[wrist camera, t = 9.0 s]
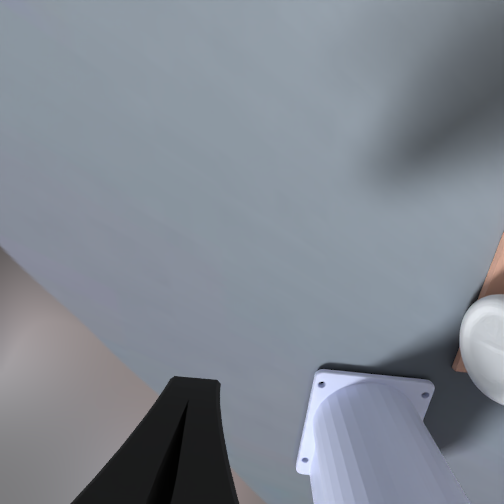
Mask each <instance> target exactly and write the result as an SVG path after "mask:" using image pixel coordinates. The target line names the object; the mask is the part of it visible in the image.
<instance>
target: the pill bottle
mask: <svg viewBox="0 0 504 504" xmlns="http://www.w3.org/2000/svg"><path fill="white" fill-rule="evenodd" d="M459 341H460V351H461V356H462V360H463V363H464V366H465V368H466V370H467V372H468V374H469V376H470V378H471V379H472V381H473V382H474V384H475V385H476V386H477V387H478V389H479V390H480V391H481V392H482V393H484V394H485V395H486V396H487V397H489V398H490V399H492V400H493V401H495V402H497V403H499V404H501V405H504V294H495V295H489V296H486V297H483V298H481V299H479V300H477V301H476V302H475V303H473V304H472V305H471V306H470V308H469V309H468V310H467V312H466V313H465V315H464V318H463V320H462V323H461V328H460V338H459Z"/></svg>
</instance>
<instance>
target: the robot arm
mask: <svg viewBox="0 0 504 504" xmlns="http://www.w3.org/2000/svg"><path fill="white" fill-rule="evenodd" d="M319 382H324V383H322V384H319ZM220 385H221V384H220V383H219V381H218V380H212V379H200V378H189V377H178V376H174V377H173V378H171V379H170V381H169V382H168V384H167V386H166V387H165V389H164V390H163V392H162V393H161V395H160V396H159V398H158V399H157V400H156V402H155V404H154V405H153V406H152V408H151V409H150V410H149V412H148V413H147V415H146V416H145V417H144V418H143V420H142V421H141V422H140V423H139V425H138V426H137V427H136V429H135V430H134V431H133V433H132V434H131V435H130V436H129V438H128V439H127V440H126V441H125V443H124V444H123V445H122V446H121V447H120V449H119V450H118V451H117V452H116V453H115V454H114V456H113V457H112V458H111V459H110V460H109V462H108V463H107V464H106V465H105V466H104V467H103V468H102V470H101V471H100V472H99V473H98V474H97V475H96V476H95V478H94V479H93V480H92V481H91V482H90V483H89V484H88V485H87V486H86V488H85V489H84V490H83V491H82V492H81V493H80V494H79V495H78V496H77V497H76V498H75V500H74V501H73V502H72V503H71V504H239V501H238V497H237V494H236V490H235V486H234V482H233V477H232V473H231V469H230V465H229V460H228V455H227V450H226V444H225V439H224V434H223V427H222V419H221V410H220ZM434 390H435V386H434V384H433V383H432V382H431V381H430V380H426V379H416V378H406V377H396V376H387V375H377V374H367V373H357V372H347V371H338V370H328V369H320V370H318V371H316V373H315V376H314V380H313V385H312V390H311V395H310V400H309V404H308V409H307V414H306V419H305V423H304V428H303V433H302V438H301V443H300V447H299V452H298V457H297V462H296V470H297V472H298V473H300V474H307V475H310V480H311V487H312V494H313V500H314V504H471V503H470V501H469V499H468V497H467V496H466V494H465V492H464V491H463V489H462V487H461V486H460V484H459V482H458V480H457V479H456V477H455V475H454V474H453V472H452V470H451V469H450V467H449V465H448V463H447V462H446V460H445V458H444V457H443V455H442V453H441V451H440V450H439V448H438V446H437V445H436V443H435V441H434V440H433V438H432V436H431V434H430V433H429V431H428V429H427V428H426V426H425V424H424V423H423V419H424V417H425V414H426V411H427V409H428V406H429V403H430V401H431V398H432V395H433V393H434ZM424 392H426V393H424ZM422 393H424V394H422Z"/></svg>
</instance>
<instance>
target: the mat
mask: <svg viewBox="0 0 504 504" xmlns="http://www.w3.org/2000/svg"><path fill="white" fill-rule="evenodd" d="M495 294H504V232H503V235H502V237H501V240H500V243H499V245H498V248H497V250H496V253H495V256H494V258H493V261H492V264H491V266H490V269H489V271H488V274H487V277H486V279H485V282H484V284H483V287H482V290H481V292H480V295H479V297H478V300H479V299H481V298H483V297H486V296H489V295H495ZM452 368H453V369H454V370H455V371H457V372H467V370H466V368H465V366H464V363H463V360H462V356H461V351H460V347H459V349H458V352H457V355H456V357H455V360H454V362H453V365H452ZM467 373H468V372H467Z"/></svg>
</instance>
